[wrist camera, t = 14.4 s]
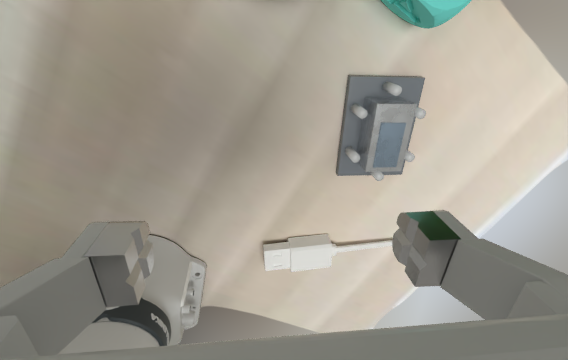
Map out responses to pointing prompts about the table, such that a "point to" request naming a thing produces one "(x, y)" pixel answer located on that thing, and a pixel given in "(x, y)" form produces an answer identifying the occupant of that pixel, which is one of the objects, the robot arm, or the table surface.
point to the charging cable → (308, 252)
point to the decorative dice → (426, 10)
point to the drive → (385, 133)
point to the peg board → (355, 113)
